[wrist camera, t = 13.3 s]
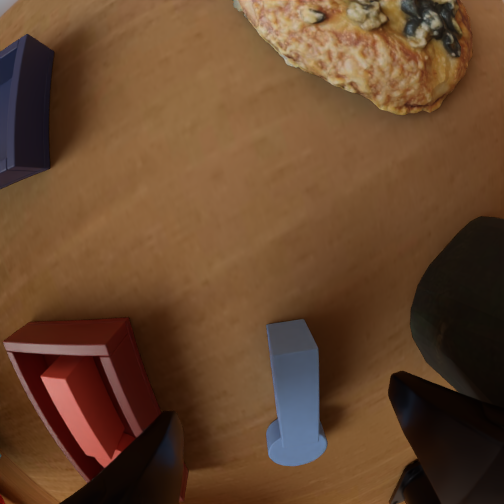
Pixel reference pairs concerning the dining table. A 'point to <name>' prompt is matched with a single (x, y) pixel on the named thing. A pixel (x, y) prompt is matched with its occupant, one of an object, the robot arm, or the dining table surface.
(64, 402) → the red spoon
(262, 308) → the dining table surface
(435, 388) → the robot arm
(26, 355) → the red tray
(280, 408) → the blue spoon
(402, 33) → the bread roll
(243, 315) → the dining table surface
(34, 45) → the blue tray
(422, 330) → the sushi
